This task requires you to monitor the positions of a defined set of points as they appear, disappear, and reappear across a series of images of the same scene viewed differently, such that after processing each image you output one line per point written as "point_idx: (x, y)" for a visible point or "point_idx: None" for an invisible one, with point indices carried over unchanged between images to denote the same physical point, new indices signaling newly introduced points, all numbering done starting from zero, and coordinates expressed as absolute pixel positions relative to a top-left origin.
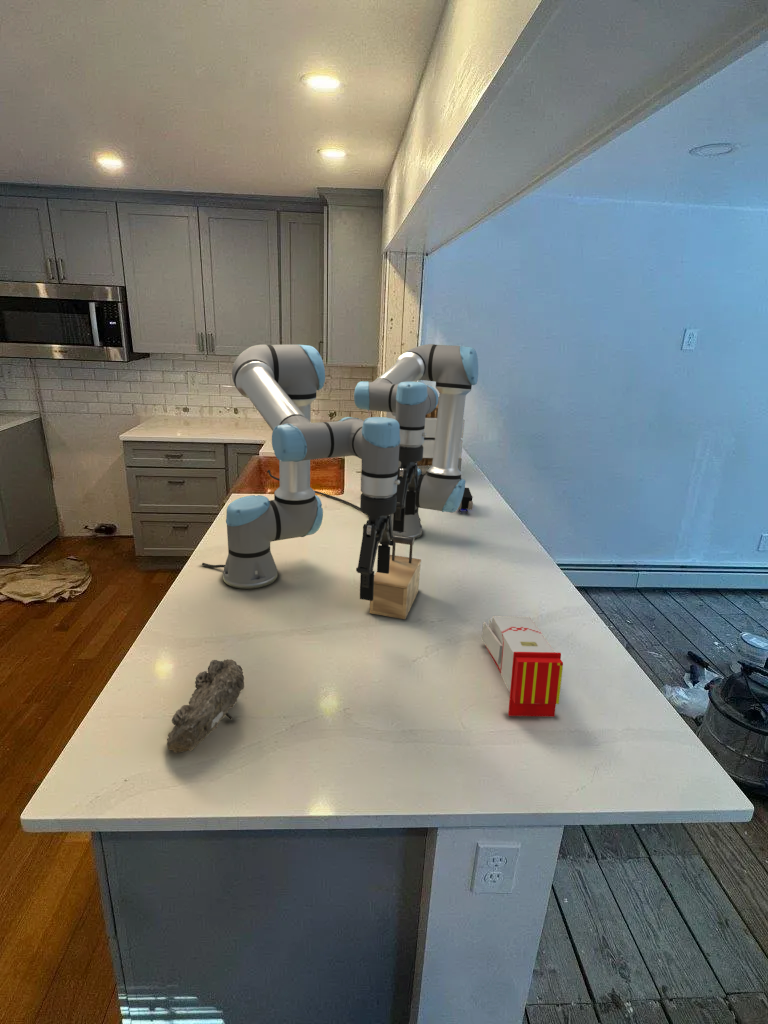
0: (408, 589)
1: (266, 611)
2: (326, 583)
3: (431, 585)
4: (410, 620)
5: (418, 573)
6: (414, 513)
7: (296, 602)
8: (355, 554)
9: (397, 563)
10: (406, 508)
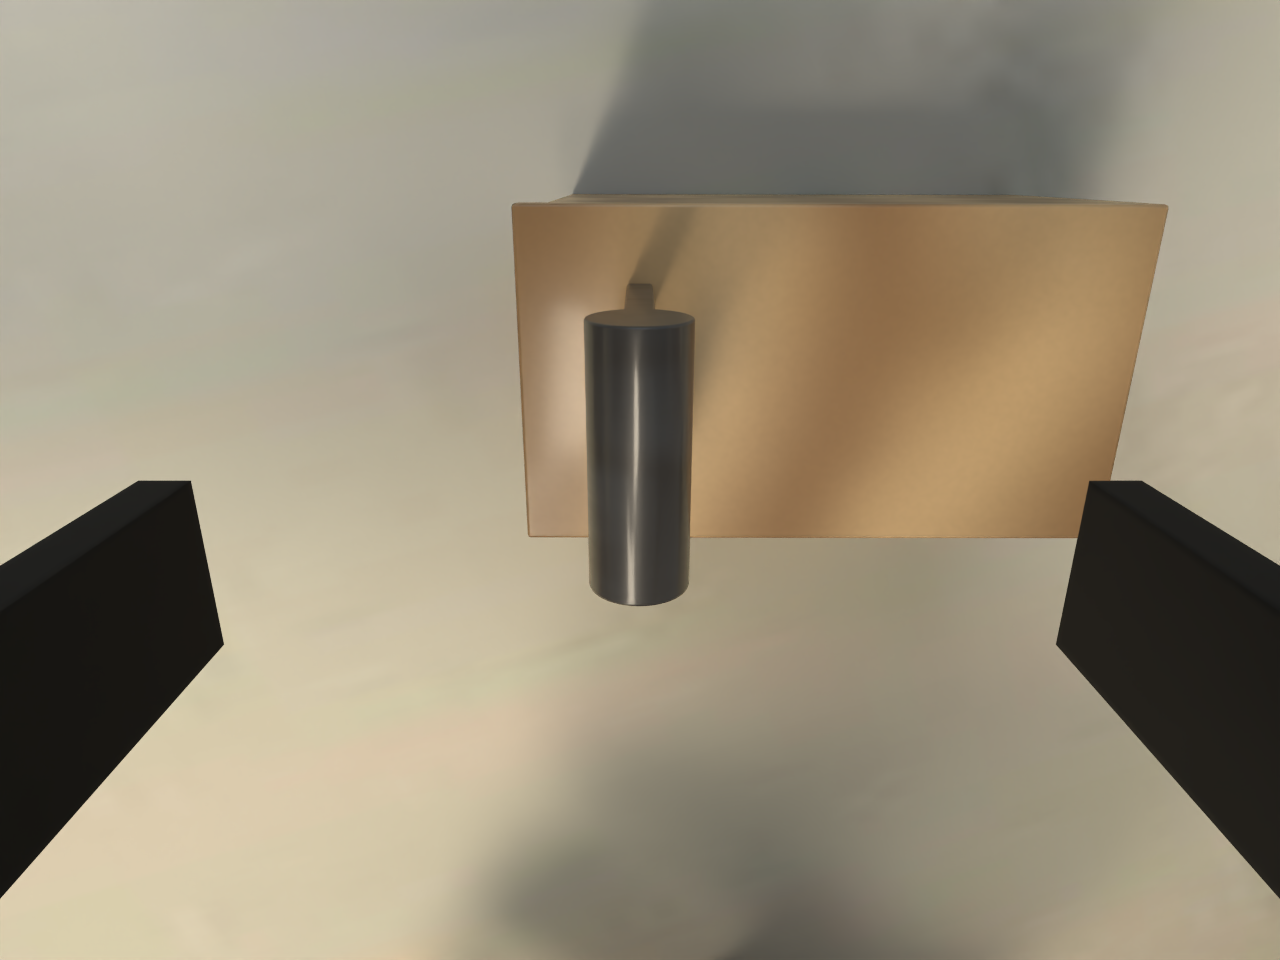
0: (1072, 202)
1: (1059, 909)
2: (676, 768)
3: (434, 109)
4: (1018, 155)
5: (618, 199)
6: (163, 490)
7: (939, 827)
8: (208, 740)
9: (699, 410)
10: (160, 683)
